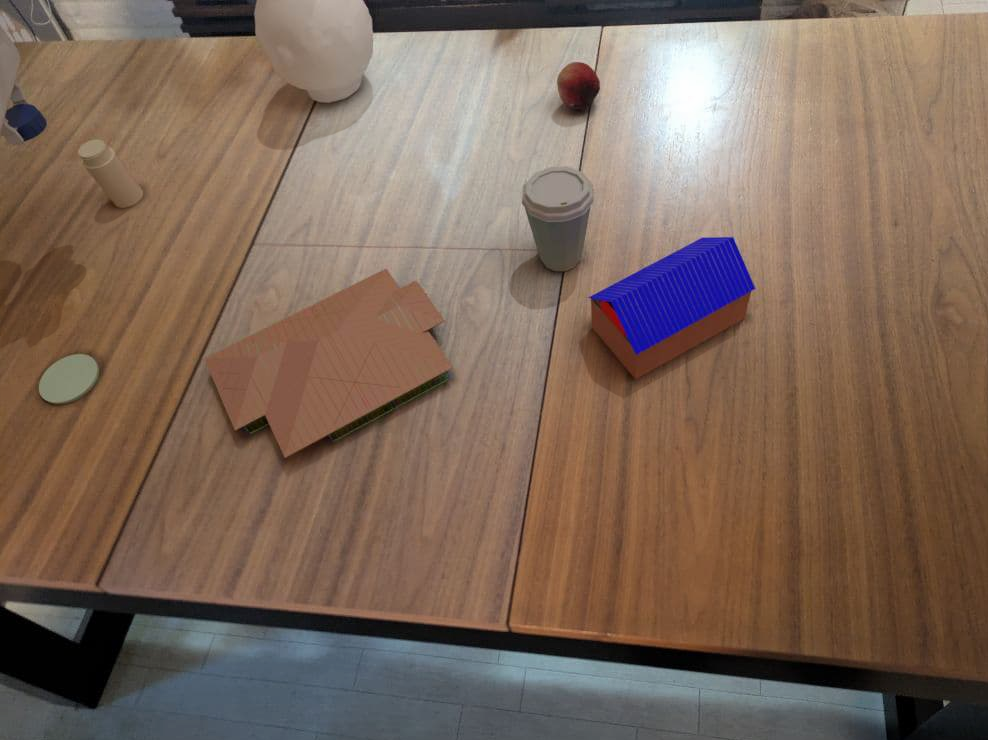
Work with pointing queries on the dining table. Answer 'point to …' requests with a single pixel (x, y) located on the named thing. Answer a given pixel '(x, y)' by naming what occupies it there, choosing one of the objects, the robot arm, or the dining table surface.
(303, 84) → the vase
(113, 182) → the jar
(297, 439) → the brown flat stepped piece
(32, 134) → the lid
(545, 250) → the disposable coffee cup
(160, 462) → the dining table surface
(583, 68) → the fruit
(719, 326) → the house
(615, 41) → the dining table surface
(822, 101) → the dining table surface
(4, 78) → the robot arm
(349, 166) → the dining table surface
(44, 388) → the coaster
